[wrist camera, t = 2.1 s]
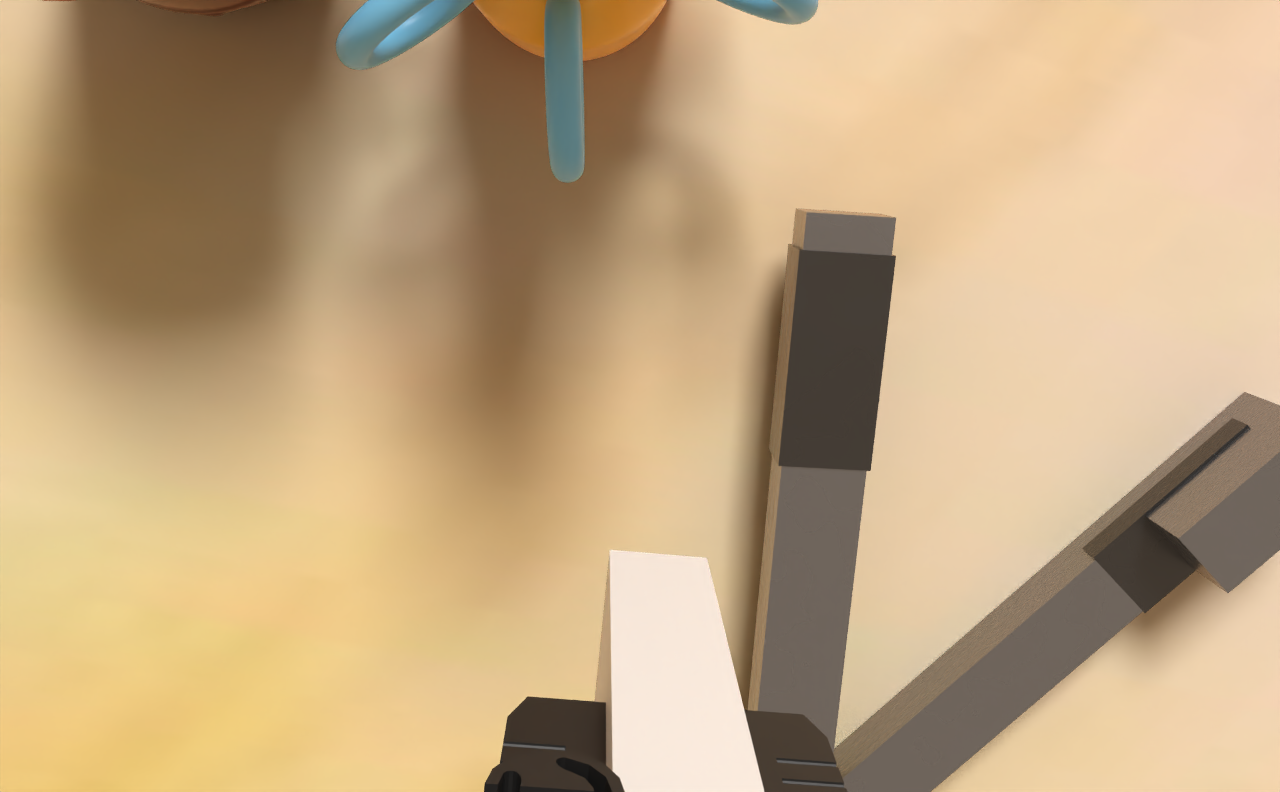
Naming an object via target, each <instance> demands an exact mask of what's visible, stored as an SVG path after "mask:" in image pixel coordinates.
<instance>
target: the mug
mask: <svg viewBox="0 0 1280 792" xmlns="http://www.w3.org/2000/svg"><path fill="white" fill-rule="evenodd" d="M44 1H74V0H44ZM138 1H140V2H142V3H145V4H147V5H150V6H153V7H157V8H160V9H163V10H168V11H173V12H179V13H188V14H200V15H207V16H220V15H223V14H226V13H229V12H232V11H235V10H239V9H242V8H246V7H251V6H254V5H257V4H260V3H263V2H266V1H268V0H138Z"/></svg>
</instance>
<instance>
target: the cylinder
mask: <svg viewBox="0 0 1280 792" xmlns="http://www.w3.org/2000/svg"><path fill="white" fill-rule="evenodd" d="M717 1H719V2H722V3H724V4H726V5H729V6H731V7H733V8H736V9H738V10H741V11H743V12H746V13H749V14H751V15H754V16H757V17H760V18H763V19H767V20H770V21H774V22H778V23H784V24H801V23H804V22H806V21H808V20H809V19H811V18H812V17H813V15H814V14H815V12H816V10H817V7H818V0H717ZM472 2H473V3H474V4H475V6H476V7H477V8H478V9H479V10H480V12H481V13H482V14H483V15H484V16H485V17H486V18H487V20H488V21H489V22H490V23H491V24H492V25H493V26H494V27H495V28H496V29H497V30H498V31H499V32H500V33H501V34H502V35H503V36H505V37H506V38H507V39H508V40H510V41H511V42H512V43H514V44H515V45H517V46H519V47H520V48H522V49H524V50H526V51H528V52H530V53H532V54H535V55H538V56H541V57H544V64H545V98H546V120H547V137H548V150H549V160H550V166H551V170H552V173H553V175H554V176H555V177H556V178H557V179H558V180H560V181H562V182H565V183H571V182H574V181H576V180H578V179H579V178H580V177H581V175H582V174H583V171H584V165H585V135H584V84H583V61H588V60H594V59H598V58H601V57H604V56H607V55H610V54H612V53H615V52H617V51H619V50H620V49H622V48H624V47H626V46H627V45H629V44H630V43H632V42H633V41H634V40H636V39H637V38H638V37H639V36H640V35H642V34H643V33H644V32H645V31H646V30H647V29H648V28H649V26H650V25H651V24H652V23H653V22H654V20H655V19H656V18H657V16H658V15H659V14H660V12H661V11H662V9H663V7H664V5H665V4H666V2H667V0H368V1H367V2H366V3H365V4H364V5H363V6H362V7H360V8H359V9H358V10H357V11H356V12H355V13H354V15H353V16H352V17H351V18H350V19H349V20H348V21H347V23H346V24H345V25H344V27H343V28H342V30H341V31H340V33H339V35H338V38H337V41H336V52H337V55H338V58H339V59H340V61H341V62H342V63H343V64H344V65H345V66H347V67H349V68H351V69H355V70H364V69H369V68H372V67H375V66H378V65H380V64H382V63H385V62H387V61H389V60H391V59H393V58H395V57H397V56H398V55H400V54H402V53H404V52H405V51H407V50H409V49H410V48H412V47H414V46H415V45H417V44H418V43H420V42H421V41H423V40H425V39H426V38H427V37H429V36H430V35H432V34H433V33H435V32H436V31H438V30H439V29H440V28H442V27H443V26H444V25H446V24H447V23H448V22H450V21H451V20H452V19H454V18H455V17H456V16H457V15H458V14H460V13H461V12H462V11H463V10H465V9H466V8H467V7H468V6H469V5H470V4H471V3H472Z"/></svg>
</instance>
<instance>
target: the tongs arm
mask: <svg viewBox="0 0 1280 792" xmlns="http://www.w3.org/2000/svg"><path fill="white" fill-rule="evenodd" d="M895 222H896V218H895V217H891V216H887V215H883V214H873V213H857V212H842V211H826V210H811V209H796V212H795V222H794V233H793V243H792V244H788V255H787V265H786V276H785V286H784V297H783V307H782V318H781V328H780V339H779V349H778V359H777V370H776V380H775V391H774V401H773V412H772V422H771V433H770V443H769V450H770V452H771V454H772V461H771V471H770V482H769V492H768V503H767V513H766V523H765V534H764V544H763V554H762V565H761V575H760V586H759V596H758V606H757V617H756V627H755V637H754V648H753V658H752V669H751V679H750V689H749V700H748V710H752V711H765V712H779V713H792V714H803V715H804V716H805V717H806V718H807V719H809V720H810V721H811V722H812V723H813V724H814V725H815V726H816V727H817V728H818V729H819V730H820V731H821V732H822V733H823V734H824V735H825V736H826V737H827V738H828V741H829V744H830V746H831V749H832V752H834V743H835V735H836V726H837V718H838V709H839V701H840V692H841V684H842V675H843V667H844V658H845V650H846V641H847V632H848V624H849V615H850V607H851V598H852V590H853V581H854V573H855V564H856V556H857V547H858V539H859V530H860V521H861V513H862V504H863V496H864V487H865V479H866V471H871V462H872V454H873V445H874V437H875V428H876V420H877V411H878V403H879V394H880V386H881V377H882V369H883V360H884V352H885V343H886V335H887V326H888V318H889V309H890V301H891V293H892V284H893V276H894V267H895V259H896V256H895V255H892V248H893V240H894V231H895Z"/></svg>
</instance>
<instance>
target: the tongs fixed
mask: <svg viewBox="0 0 1280 792" xmlns="http://www.w3.org/2000/svg"><path fill="white" fill-rule="evenodd" d="M1279 550H1280V405H1277V404H1274V403H1272V402H1269V401H1267V400H1264V399H1261V398H1259V397H1256V396H1254V395H1251V394H1248V393H1246V392H1244V393H1243V394H1242V395H1241V396H1240V397H1238V398H1237V399H1236V400H1235V401H1234V402H1233V403H1232V404H1230V405H1229V406H1228V407H1227V408H1226V409H1225V410H1224V411H1222V412H1221V413H1220V414H1219V415H1218V416H1217V417H1216V418H1214V419H1213V420H1212V421H1211V422H1210V423H1209V424H1207V425H1206V426H1205V427H1204V428H1203V429H1202V430H1201V431H1199V432H1198V433H1197V434H1196V435H1195V436H1194V437H1193V438H1191V439H1190V440H1189V441H1188V442H1187V443H1186V444H1184V445H1183V446H1182V447H1181V448H1180V449H1179V450H1178V451H1176V452H1175V453H1174V454H1173V455H1172V456H1171V457H1170V458H1168V459H1167V460H1166V461H1165V462H1164V463H1163V464H1161V465H1160V466H1159V467H1158V468H1157V469H1156V470H1155V471H1153V472H1152V473H1151V474H1150V475H1149V476H1148V477H1147V478H1145V479H1144V480H1143V481H1142V482H1141V483H1140V484H1139V485H1137V486H1136V487H1135V488H1134V489H1133V490H1132V491H1130V492H1129V493H1128V494H1127V495H1126V496H1125V497H1124V498H1122V499H1121V500H1120V501H1119V502H1118V503H1117V504H1116V505H1114V506H1113V507H1112V508H1111V509H1110V510H1109V511H1107V512H1106V513H1105V514H1104V515H1103V516H1102V517H1101V518H1099V519H1098V520H1097V521H1096V522H1095V523H1094V524H1093V525H1091V526H1090V527H1089V528H1088V529H1087V530H1086V531H1084V532H1083V533H1082V534H1081V535H1080V536H1079V537H1078V538H1076V539H1075V540H1074V541H1073V542H1072V543H1071V544H1070V545H1068V546H1067V547H1066V548H1065V549H1064V550H1063V551H1062V552H1060V553H1059V554H1058V555H1057V556H1056V557H1055V558H1053V559H1052V560H1051V561H1050V562H1049V563H1048V564H1047V565H1045V566H1044V567H1043V568H1042V569H1041V570H1040V571H1039V572H1037V573H1036V574H1035V575H1034V576H1033V577H1032V578H1030V579H1029V580H1028V581H1027V582H1026V583H1025V584H1024V585H1022V586H1021V587H1020V588H1019V589H1018V590H1017V591H1016V592H1014V593H1013V594H1012V595H1011V596H1010V597H1009V598H1008V599H1006V600H1005V601H1004V602H1003V603H1002V604H1001V605H999V606H998V607H997V608H996V609H995V610H994V611H993V612H991V613H990V614H989V615H988V616H987V617H986V618H985V619H983V620H982V621H981V622H980V623H979V624H978V625H976V626H975V627H974V628H973V629H972V630H971V631H970V632H968V633H967V634H966V635H965V636H964V637H963V638H962V639H960V640H959V641H958V642H957V643H956V644H955V645H953V646H952V647H951V648H950V649H949V650H948V651H947V652H945V653H944V654H943V655H942V656H941V657H940V658H939V659H937V660H936V661H935V662H934V663H933V664H932V665H931V666H929V667H928V668H927V669H926V670H925V671H924V672H922V673H921V674H920V675H919V676H918V677H917V678H916V679H914V680H913V681H912V682H911V683H910V684H909V685H908V686H906V687H905V688H904V689H903V690H902V691H901V692H899V693H898V694H897V695H896V696H895V697H894V698H893V699H891V700H890V701H889V702H888V703H887V704H886V705H885V706H883V707H882V708H881V709H880V710H879V711H878V712H876V713H875V714H874V715H873V716H872V717H871V718H870V719H868V720H867V721H866V722H865V723H864V724H863V725H862V726H860V727H859V728H858V729H857V730H856V731H855V732H854V733H852V734H851V735H850V736H849V737H848V738H847V739H845V740H844V741H843V742H842V743H841V744H840V745H839V746H837V747H836V748H835V749H834V752H833V754H834V757H835V760H836V767H838V768H839V770H840V773H841V776H842V778H843V781H844V788H846V789H847V792H931V791H932V790H933V789H934V788H935V787H937V786H938V785H939V784H940V783H941V782H942V781H944V780H945V779H946V778H947V777H948V776H950V775H951V774H952V773H953V772H954V771H955V770H957V769H958V768H959V767H960V766H961V765H962V764H964V763H965V762H966V761H967V760H968V759H970V758H971V757H972V756H973V755H974V754H975V753H977V752H978V751H979V750H980V749H981V748H982V747H984V746H985V745H986V744H987V743H988V742H990V741H991V740H992V739H993V738H994V737H995V736H997V735H998V734H999V733H1000V732H1001V731H1002V730H1004V729H1005V728H1006V727H1007V726H1008V725H1010V724H1011V723H1012V722H1013V721H1014V720H1015V719H1017V718H1018V717H1019V716H1020V715H1021V714H1022V713H1024V712H1025V711H1026V710H1027V709H1028V708H1030V707H1031V706H1032V705H1033V704H1034V703H1035V702H1037V701H1038V700H1039V699H1040V698H1041V697H1042V696H1044V695H1045V694H1046V693H1047V692H1048V691H1050V690H1051V689H1052V688H1053V687H1054V686H1055V685H1057V684H1058V683H1059V682H1060V681H1061V680H1063V679H1064V678H1065V677H1066V676H1067V675H1068V674H1070V673H1071V672H1072V671H1073V670H1074V669H1075V668H1077V667H1078V666H1079V665H1080V664H1081V663H1083V662H1084V661H1085V660H1086V659H1087V658H1088V657H1090V656H1091V655H1092V654H1093V653H1094V652H1095V651H1097V650H1098V649H1099V648H1100V647H1101V646H1103V645H1104V644H1105V643H1106V642H1107V641H1108V640H1110V639H1111V638H1112V637H1113V636H1114V635H1115V634H1117V633H1118V632H1119V631H1120V630H1121V629H1123V628H1124V627H1125V626H1126V625H1127V624H1128V623H1130V622H1131V621H1132V620H1133V619H1134V618H1135V617H1137V616H1138V615H1139V614H1140V613H1141V612H1144V613H1146V612H1147V611H1148V610H1149V609H1150V608H1152V607H1153V606H1154V605H1155V604H1156V603H1158V602H1159V601H1160V600H1161V599H1162V598H1163V597H1165V596H1166V595H1167V594H1168V593H1169V592H1171V591H1172V590H1173V589H1174V588H1175V587H1176V586H1178V585H1179V584H1180V583H1181V582H1182V581H1183V580H1185V579H1186V578H1187V577H1188V576H1189V575H1191V574H1192V573H1193V572H1194V571H1195V570H1196V571H1197V572H1199V573H1200V574H1202V575H1203V576H1204V577H1206V578H1207V579H1209V580H1210V581H1211V582H1213V583H1214V584H1216V585H1217V586H1218V587H1220V588H1221V589H1223V590H1224V591H1226V592H1227V593H1229V592H1230V591H1231V590H1233V589H1234V588H1235V587H1236V586H1237V585H1239V584H1240V583H1241V582H1242V581H1243V580H1245V579H1246V578H1247V577H1248V576H1249V575H1250V574H1252V573H1253V572H1254V571H1255V570H1256V569H1258V568H1259V567H1260V566H1261V565H1262V564H1264V563H1265V562H1266V561H1267V560H1268V559H1269V558H1271V557H1272V556H1273V555H1274V554H1275V553H1277V552H1278V551H1279Z"/></svg>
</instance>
